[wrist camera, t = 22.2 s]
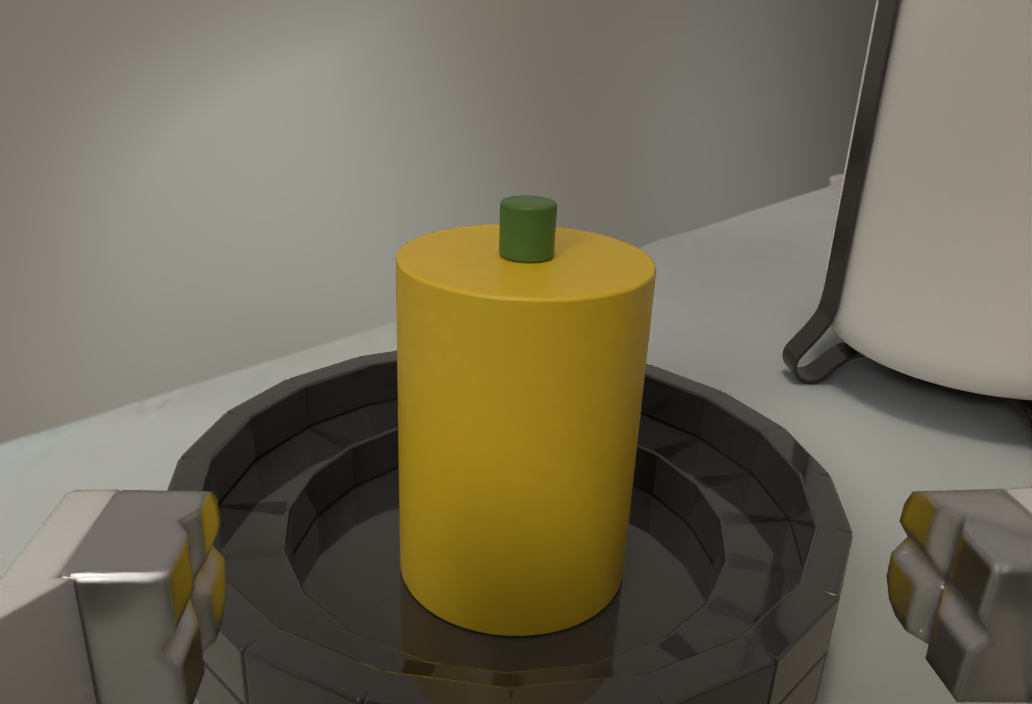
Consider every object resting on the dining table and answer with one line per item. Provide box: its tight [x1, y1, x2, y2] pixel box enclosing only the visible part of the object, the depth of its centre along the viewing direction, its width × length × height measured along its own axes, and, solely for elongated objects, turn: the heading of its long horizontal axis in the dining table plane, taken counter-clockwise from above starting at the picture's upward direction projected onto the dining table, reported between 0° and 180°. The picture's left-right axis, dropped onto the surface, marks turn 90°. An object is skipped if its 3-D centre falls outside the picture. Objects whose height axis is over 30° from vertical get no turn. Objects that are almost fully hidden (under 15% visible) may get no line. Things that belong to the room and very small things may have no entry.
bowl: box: [167, 351, 853, 704], centre depth 21 cm, size 16×16×4 cm
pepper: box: [396, 196, 656, 636], centre depth 20 cm, size 6×6×9 cm
